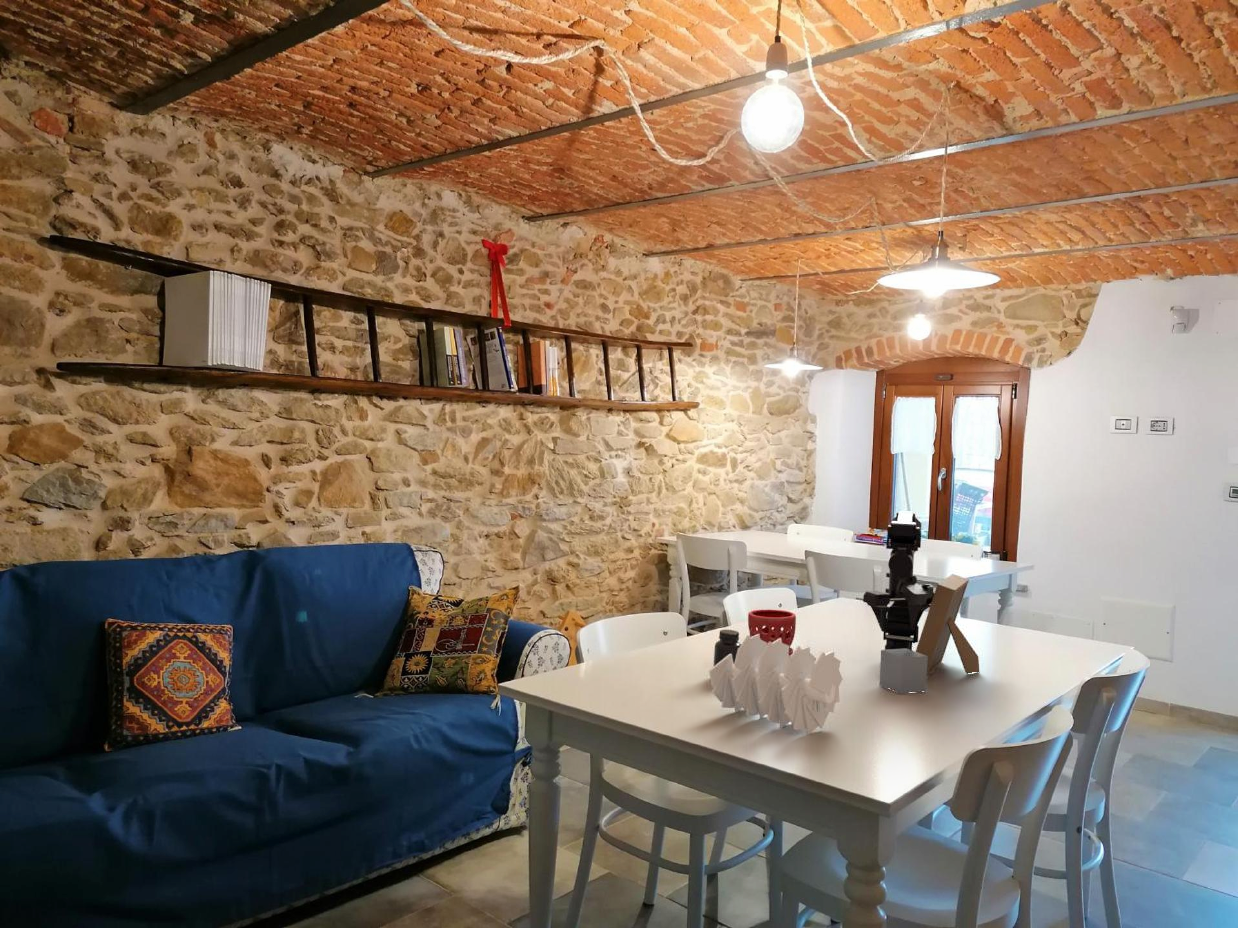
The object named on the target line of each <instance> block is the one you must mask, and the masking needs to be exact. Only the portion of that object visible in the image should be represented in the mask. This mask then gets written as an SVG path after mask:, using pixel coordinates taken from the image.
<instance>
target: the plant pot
mask: <svg viewBox="0 0 1238 928" xmlns="http://www.w3.org/2000/svg"><path fill="white" fill-rule="evenodd" d="M747 614H748V615H747V616H748V617H747V623H748V624H747V626H748V631H749V636H750V637H752V636H754V635H757V634H760V639H761V640H763V641H765V642H767V644H768V643H769V642H771V643H773V642H774V641H776V640H777V639H779V638H781V639H782V643H783V644H786V645H788V646H789V651H788V654H789V656H790V657H791V655H792V654H793V652H794V649H793V648H792V647H791V646H792V644H793V641H794V638H795V634H796V628H797V627H796V626H797V625H796V624H797V616H796V614H795V613H794V612H791V611H789V610H788V611H787V610H781V609H780V610H779V609H755V610H751V611H749V612H748V613H747Z"/></svg>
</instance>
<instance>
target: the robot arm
mask: <svg viewBox="0 0 1238 928" xmlns="http://www.w3.org/2000/svg"><path fill="white" fill-rule="evenodd" d="M885 544H886V547H885V549H886V550H891V551H890V557H889V560H888V569H889V572H886V574H885V575H886V576H885V577H886V578H889V579H888V580H889V581H888V588H885V592H882V591H879V590H871V591H868V590H867V591H865V593H864V594H863V597H862V598H863V600H862V601H863V603H866V604H867V606H868V607H870V608H871V610H872V612H873V613H874V615H875V618H876V620H877V624H878V627H879V628H880V630H881V632H883V634H882V635H883V636H882V637H883V638H882V639H883V641H885V642H886V643H885V645H884V650H889V649H905V648H907V649H910V650H912V651H913V644H916V643H919V629H920V628H919V622H920V620H921V617H922V615H923V614H924V612H925V611H926V610H927V609H928V608H929V609H930V606H931V603H932V600H933V597H934V594H935V592H934V586H933V585H932V584H931V583H927V584H918V582H917V581H918V578H917V576H916V575H914V562H915V561H914V560H915V558H914V557H915V553H916V552H918V551H919V548H920V549H921V548H922V547H921V544H922V522H920V520H919V519H918V518H916V512H914V511H908V510H907V511H905V510H899V511H896V515H895V517H893V519H892V520H890V524H889V525H887V535H886V543H885ZM891 602H892V604H891V605H889V604H890V603H891ZM888 605H889V606H888Z"/></svg>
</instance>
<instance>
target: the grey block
mask: <svg viewBox="0 0 1238 928" xmlns="http://www.w3.org/2000/svg"><path fill="white" fill-rule="evenodd" d="M927 659H928V656H926V655H923V654H920V653H918V652H916V650H913V649H912V650H910V649H907V648H905V649H889V650H885V649H881V651H880V666H879V668H880V669H879V686H880V685H882V686H881V687H883V686H884V687H883V688H885V687H886V688H885V689H887V688H890V689H891V690H894V691H895V692H894V691H893V692H894V693H896V692H897V693H896V694H898V693H899V694H898V695H905V694H904V693H909V692H921V693H923V692H922V691H926V692H927V679H928V678H927ZM891 690H890V691H891Z"/></svg>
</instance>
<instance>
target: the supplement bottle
mask: <svg viewBox="0 0 1238 928" xmlns="http://www.w3.org/2000/svg"><path fill="white" fill-rule="evenodd" d="M718 634H719V636H718V639H719V640H718V641H716V642H715V644H714V651H713V653H714V654H713V666H712V668H713V667H714V666H715V665H716V664H718V663H719V662H720V661H721V660H723V659H724V658H725V657H726V656H728V655H729V654H732V658H733V663H735V659H736V654H737V650H738V648H739V647H740V646H741V644H742V643H740V642H739V641H740V637H739V636H740V632H739V631H738V630H734V629H721V630H720V631H719V633H718Z"/></svg>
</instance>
